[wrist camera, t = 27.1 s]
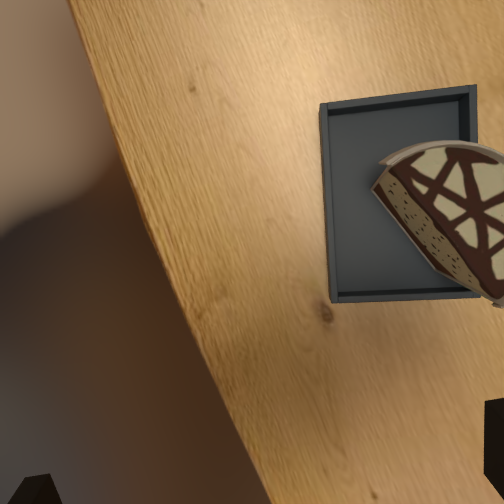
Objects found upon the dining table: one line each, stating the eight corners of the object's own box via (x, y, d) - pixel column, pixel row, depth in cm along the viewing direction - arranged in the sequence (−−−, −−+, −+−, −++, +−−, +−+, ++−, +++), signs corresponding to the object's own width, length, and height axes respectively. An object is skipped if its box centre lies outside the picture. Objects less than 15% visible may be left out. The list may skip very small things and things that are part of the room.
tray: (329, 296, 34) (331, 303, 31) (318, 113, 32) (319, 103, 29) (465, 290, 32) (481, 297, 29) (461, 95, 30) (477, 83, 28)
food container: (507, 241, 30) (606, 253, 20) (445, 284, 31) (511, 314, 21) (417, 130, 30) (473, 88, 20) (359, 176, 31) (385, 157, 22)
